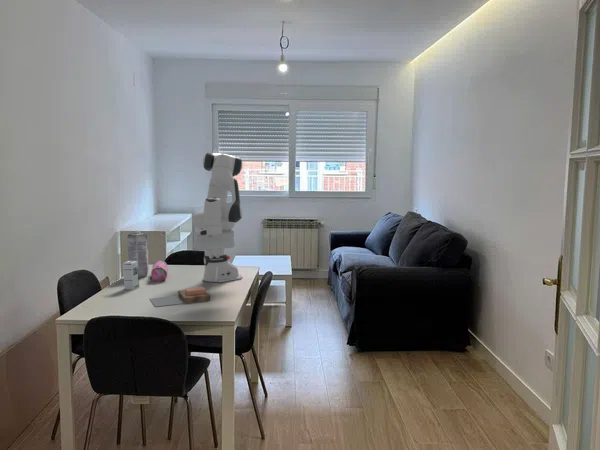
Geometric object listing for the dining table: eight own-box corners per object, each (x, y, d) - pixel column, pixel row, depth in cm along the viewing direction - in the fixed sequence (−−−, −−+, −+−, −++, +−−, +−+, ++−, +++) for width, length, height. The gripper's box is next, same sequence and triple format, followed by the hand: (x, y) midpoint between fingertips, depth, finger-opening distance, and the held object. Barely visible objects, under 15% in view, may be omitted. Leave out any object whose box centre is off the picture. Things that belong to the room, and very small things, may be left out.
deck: (201, 293, 265) (201, 288, 264) (210, 300, 250) (210, 295, 250) (178, 295, 260) (178, 290, 259) (185, 303, 245) (185, 298, 245)
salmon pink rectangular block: (203, 290, 260) (203, 286, 260) (206, 293, 254) (206, 289, 254) (185, 292, 256) (185, 288, 256) (188, 295, 251) (187, 291, 250)
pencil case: (167, 281, 292) (166, 266, 291) (150, 282, 291) (149, 266, 289) (168, 274, 313) (168, 259, 312) (153, 274, 311) (152, 260, 310)
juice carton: (147, 277, 304) (145, 231, 301) (128, 278, 302) (126, 232, 299) (149, 274, 313) (147, 229, 309) (131, 274, 311) (128, 230, 308)
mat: (178, 295, 260) (178, 295, 260) (185, 303, 245) (185, 302, 245) (149, 299, 254) (149, 298, 254) (155, 307, 239) (155, 306, 239)
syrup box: (134, 289, 274) (132, 262, 272) (123, 289, 275) (122, 262, 273) (139, 287, 279) (138, 260, 278) (129, 286, 280) (128, 260, 279)
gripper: (231, 228, 263) (232, 255, 265) (191, 230, 254) (192, 258, 256) (235, 229, 257) (236, 257, 259) (194, 232, 249) (195, 260, 250)
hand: (214, 257), depth 257 cm, fingers closed
